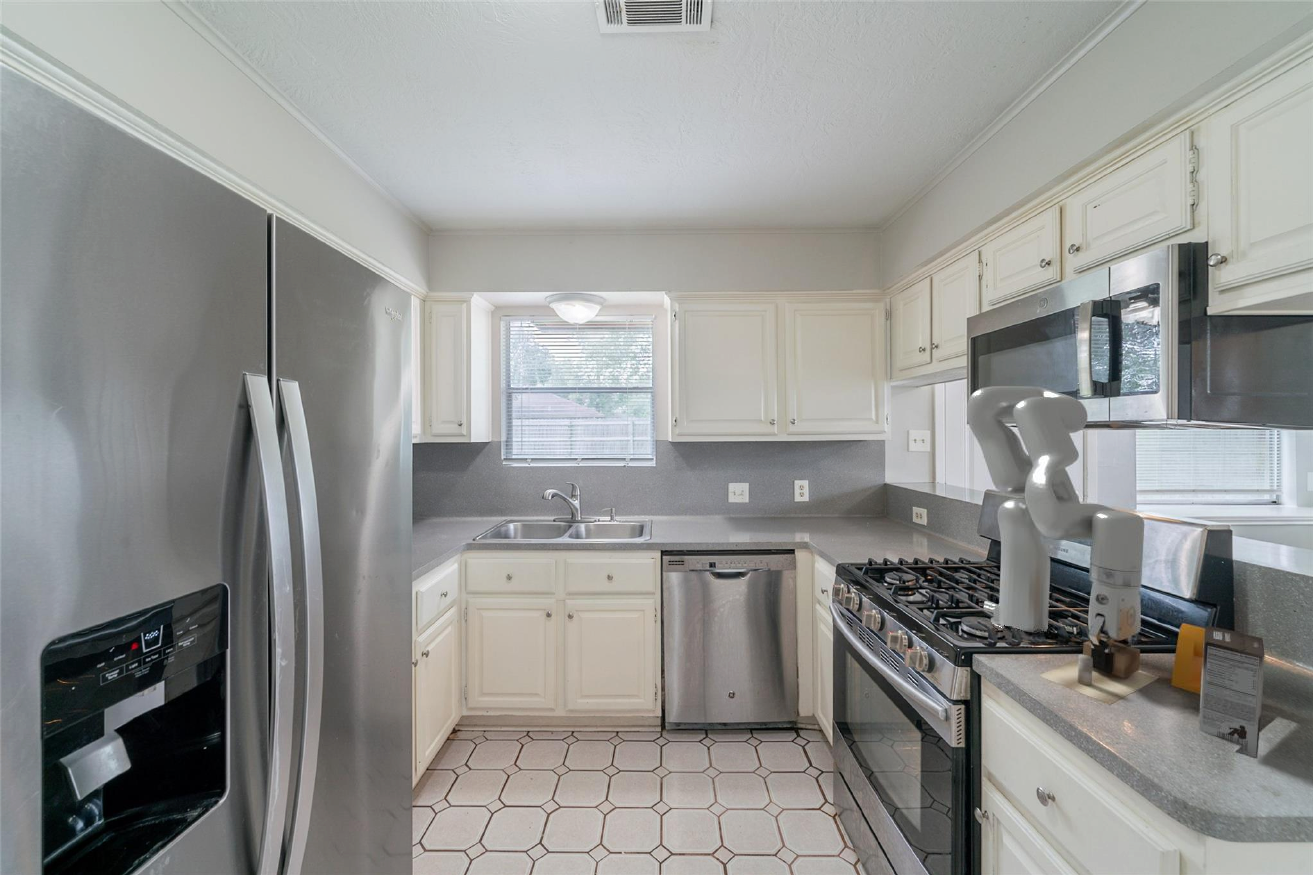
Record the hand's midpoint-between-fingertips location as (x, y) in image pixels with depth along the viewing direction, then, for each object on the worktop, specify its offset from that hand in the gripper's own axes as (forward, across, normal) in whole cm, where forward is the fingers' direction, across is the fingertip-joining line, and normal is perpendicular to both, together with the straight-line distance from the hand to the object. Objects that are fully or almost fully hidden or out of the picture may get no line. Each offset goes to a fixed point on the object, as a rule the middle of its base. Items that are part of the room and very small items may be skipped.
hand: (1110, 665), depth 101 cm
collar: (0, 0, 0) cm, 0 cm away
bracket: (+3, +10, -11) cm, 15 cm away
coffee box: (+3, -6, -17) cm, 19 cm away
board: (+3, -4, 0) cm, 5 cm away
